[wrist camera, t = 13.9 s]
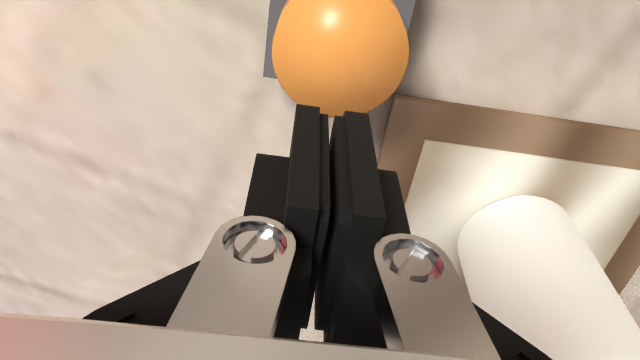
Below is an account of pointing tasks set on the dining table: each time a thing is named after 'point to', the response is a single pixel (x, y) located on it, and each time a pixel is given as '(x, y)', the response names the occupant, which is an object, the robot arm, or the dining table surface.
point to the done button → (340, 53)
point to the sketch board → (515, 174)
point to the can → (544, 281)
